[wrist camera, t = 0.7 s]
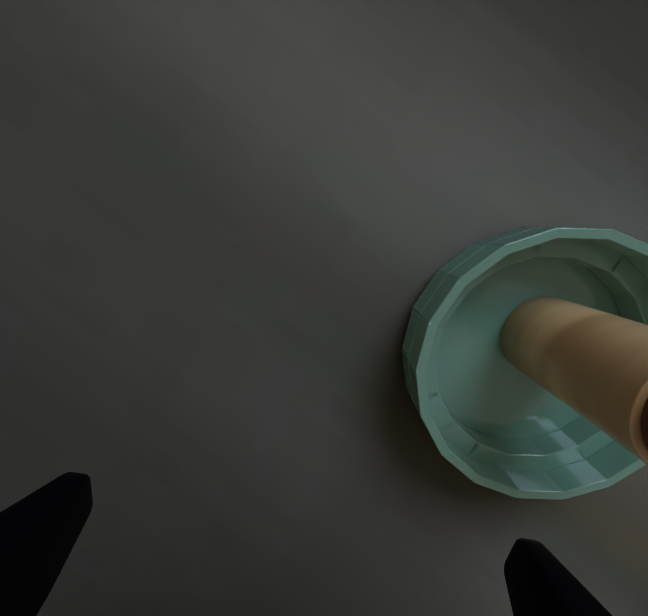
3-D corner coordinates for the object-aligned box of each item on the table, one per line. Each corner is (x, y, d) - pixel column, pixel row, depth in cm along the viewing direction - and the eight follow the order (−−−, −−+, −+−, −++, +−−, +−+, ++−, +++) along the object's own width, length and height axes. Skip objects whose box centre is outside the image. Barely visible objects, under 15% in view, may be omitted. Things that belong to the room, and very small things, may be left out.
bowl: (617, 457, 24) (674, 503, 20) (392, 451, 24) (405, 495, 20) (665, 231, 21) (743, 232, 17) (408, 224, 21) (427, 223, 17)
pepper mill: (574, 374, 22) (849, 536, 10) (495, 371, 22) (683, 532, 10) (587, 296, 21) (907, 381, 10) (505, 294, 21) (724, 376, 10)
